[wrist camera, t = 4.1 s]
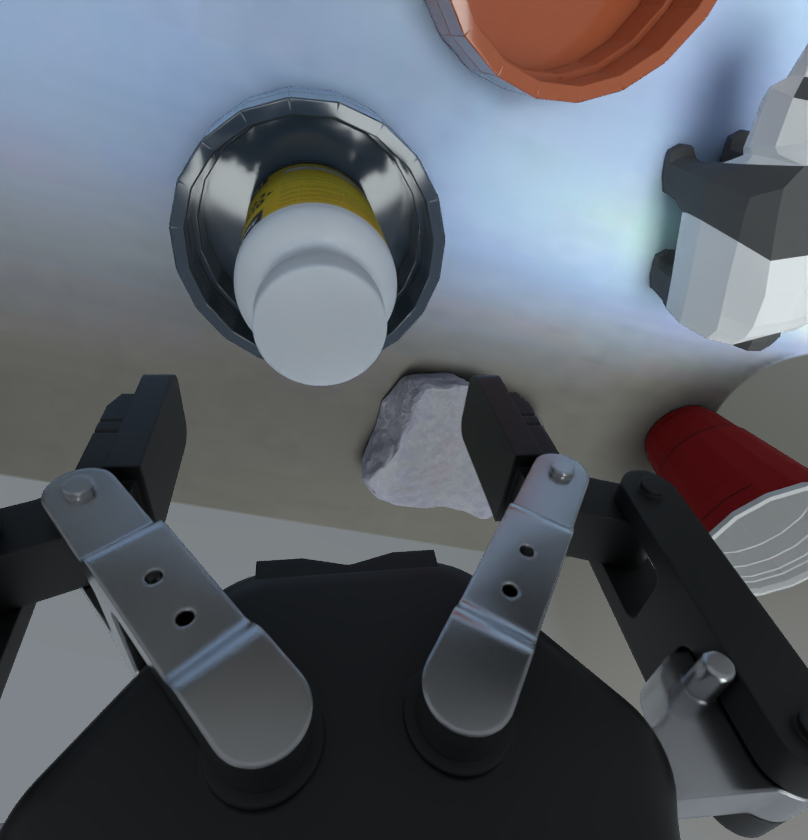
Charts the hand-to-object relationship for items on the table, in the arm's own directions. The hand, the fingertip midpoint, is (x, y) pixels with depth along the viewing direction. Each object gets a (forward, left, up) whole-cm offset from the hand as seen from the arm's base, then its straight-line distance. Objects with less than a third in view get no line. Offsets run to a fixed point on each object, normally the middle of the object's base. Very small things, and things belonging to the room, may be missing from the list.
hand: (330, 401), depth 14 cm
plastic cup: (+29, -15, -17) cm, 36 cm away
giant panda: (+22, +3, -16) cm, 28 cm away
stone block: (+10, -14, -16) cm, 24 cm away
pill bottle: (0, 0, -16) cm, 16 cm away
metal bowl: (0, 0, -16) cm, 16 cm away
